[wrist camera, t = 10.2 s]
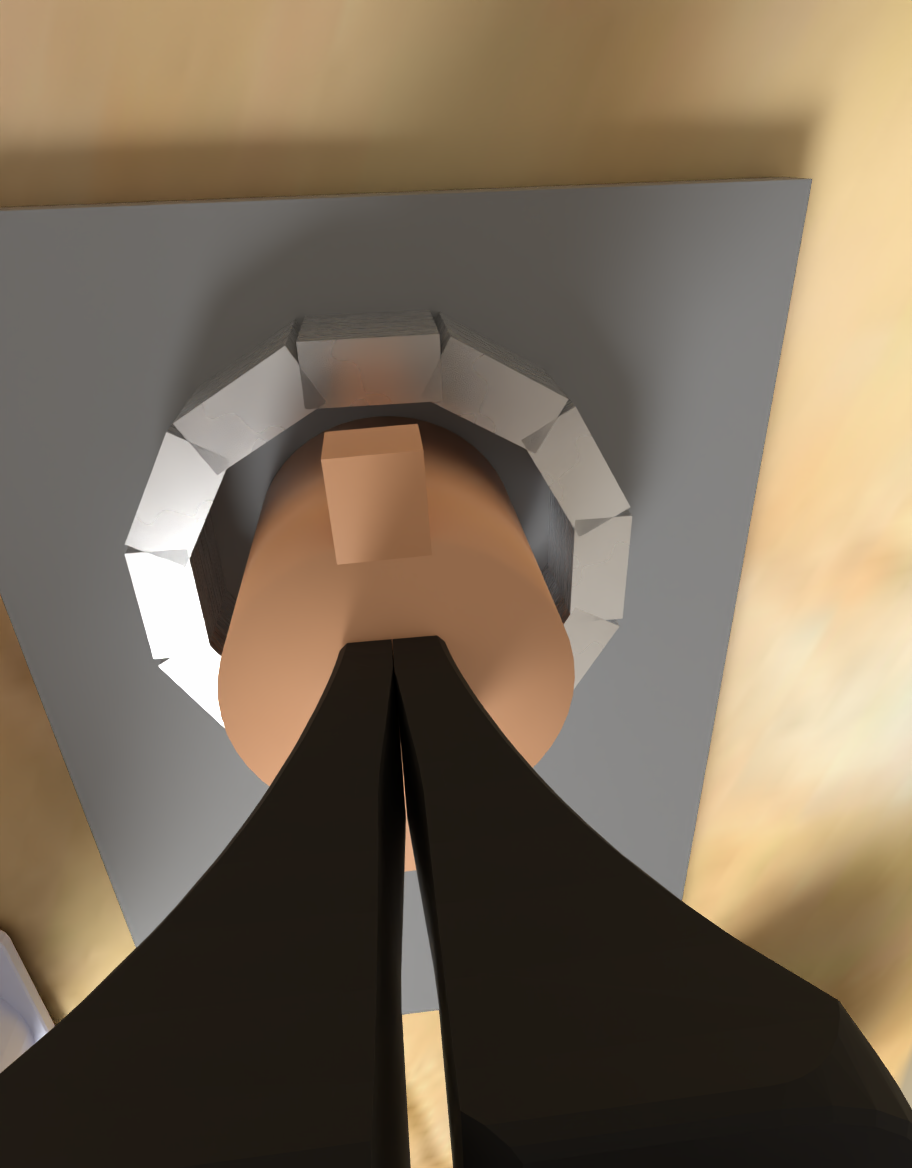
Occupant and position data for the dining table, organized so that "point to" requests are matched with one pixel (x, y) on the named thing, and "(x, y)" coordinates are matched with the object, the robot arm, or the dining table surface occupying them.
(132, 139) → the dining table surface
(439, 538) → the cap
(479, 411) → the segmented grey ring
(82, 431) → the board
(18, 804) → the dining table surface
